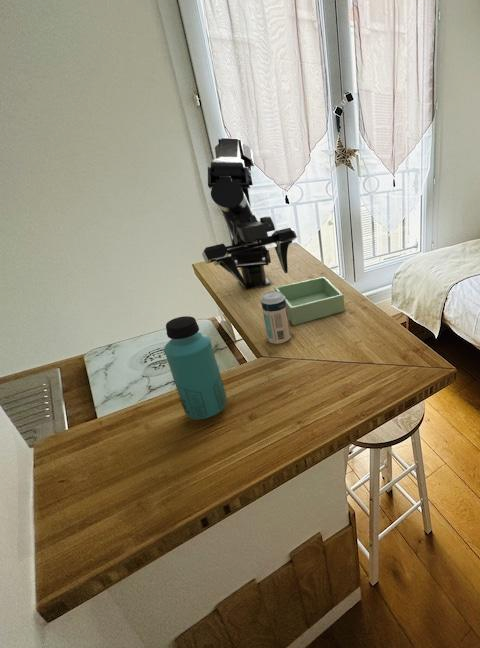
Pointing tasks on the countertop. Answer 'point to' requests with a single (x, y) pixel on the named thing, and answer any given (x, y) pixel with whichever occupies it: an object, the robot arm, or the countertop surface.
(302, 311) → the bin
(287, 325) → the labeled cylindrical canister
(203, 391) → the beverage bottle
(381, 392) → the countertop surface
